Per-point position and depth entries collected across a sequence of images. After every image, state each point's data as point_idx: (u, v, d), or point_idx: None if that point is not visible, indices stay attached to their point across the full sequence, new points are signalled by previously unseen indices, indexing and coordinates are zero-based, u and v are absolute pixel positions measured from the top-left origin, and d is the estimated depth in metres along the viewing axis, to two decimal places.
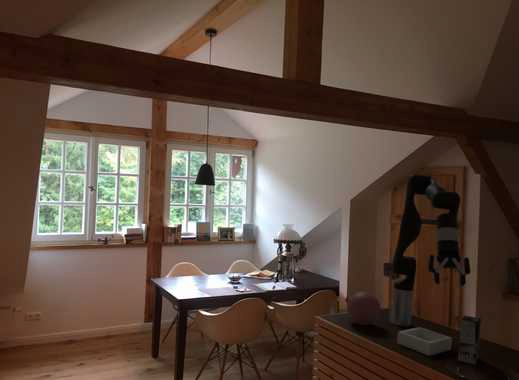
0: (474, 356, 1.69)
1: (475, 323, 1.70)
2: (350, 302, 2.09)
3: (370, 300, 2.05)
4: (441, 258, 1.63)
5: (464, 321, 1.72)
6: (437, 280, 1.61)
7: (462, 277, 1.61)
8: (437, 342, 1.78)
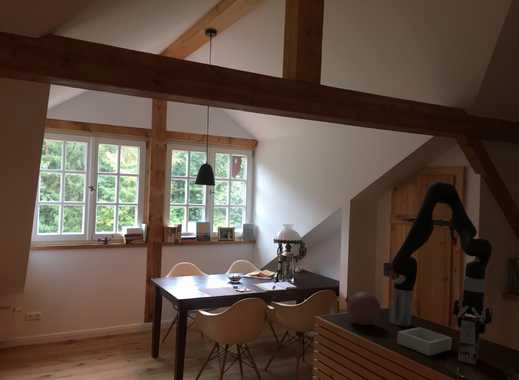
0: (474, 356, 1.69)
1: (475, 323, 1.70)
2: (350, 302, 2.09)
3: (370, 300, 2.05)
4: (464, 305, 1.76)
5: (464, 321, 1.72)
6: (458, 324, 1.78)
7: (480, 326, 1.71)
8: (437, 342, 1.78)
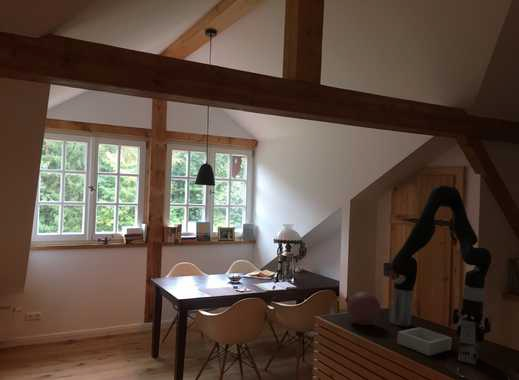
0: (474, 356, 1.69)
1: (475, 323, 1.70)
2: (350, 302, 2.09)
3: (370, 300, 2.05)
4: (463, 313, 1.76)
5: (464, 321, 1.72)
6: (457, 333, 1.78)
7: (479, 335, 1.71)
8: (437, 342, 1.78)
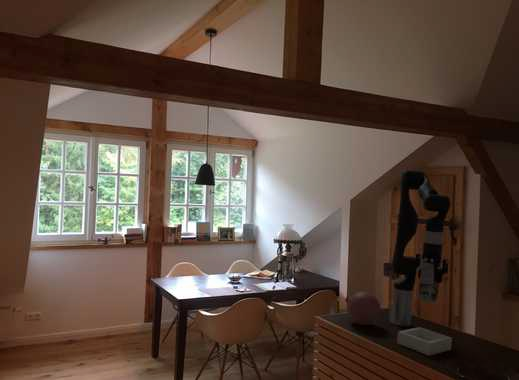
0: (432, 295, 1.81)
1: (434, 264, 1.81)
2: (350, 302, 2.09)
3: (370, 300, 2.05)
4: (424, 257, 1.87)
5: (424, 263, 1.83)
6: (419, 276, 1.89)
7: (438, 276, 1.82)
8: (437, 342, 1.78)
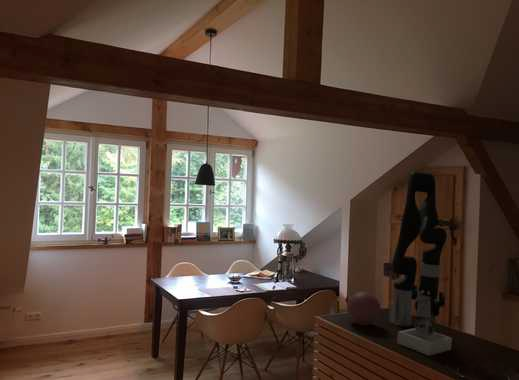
0: (429, 328, 1.81)
1: (430, 297, 1.81)
2: (350, 302, 2.09)
3: (370, 300, 2.05)
4: (420, 289, 1.87)
5: (420, 296, 1.83)
6: (416, 308, 1.89)
7: (434, 309, 1.82)
8: (437, 342, 1.78)
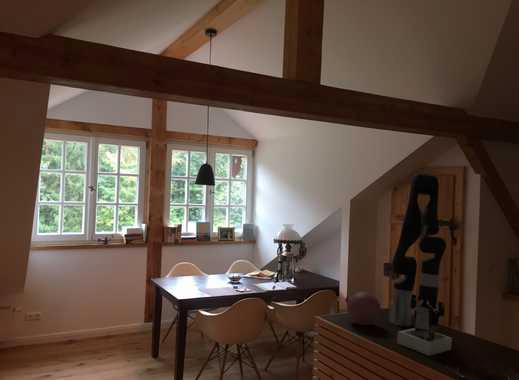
0: (428, 340, 1.81)
1: (429, 309, 1.81)
2: (350, 302, 2.09)
3: (370, 300, 2.05)
4: (420, 299, 1.87)
5: (419, 308, 1.83)
6: (415, 317, 1.89)
7: (434, 318, 1.82)
8: (437, 342, 1.78)
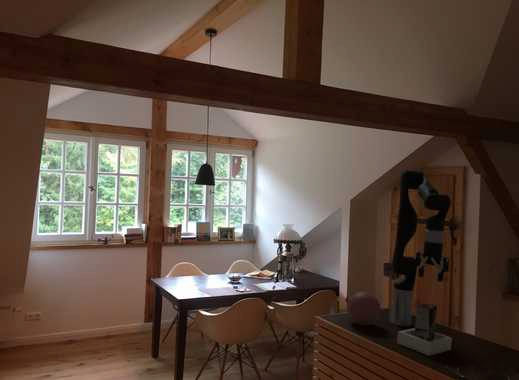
0: (428, 340, 1.81)
1: (429, 309, 1.81)
2: (350, 302, 2.09)
3: (370, 300, 2.05)
4: (424, 256, 1.88)
5: (419, 308, 1.83)
6: (419, 274, 1.89)
7: (438, 274, 1.82)
8: (437, 342, 1.78)
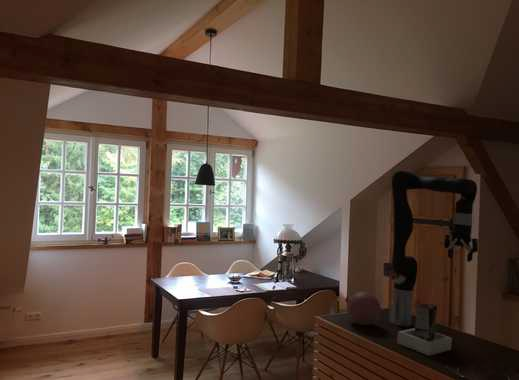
0: (428, 340, 1.81)
1: (429, 309, 1.81)
2: (350, 302, 2.09)
3: (370, 300, 2.05)
4: (453, 238, 1.99)
5: (419, 308, 1.83)
6: (449, 255, 2.01)
7: (468, 255, 1.93)
8: (437, 342, 1.78)
